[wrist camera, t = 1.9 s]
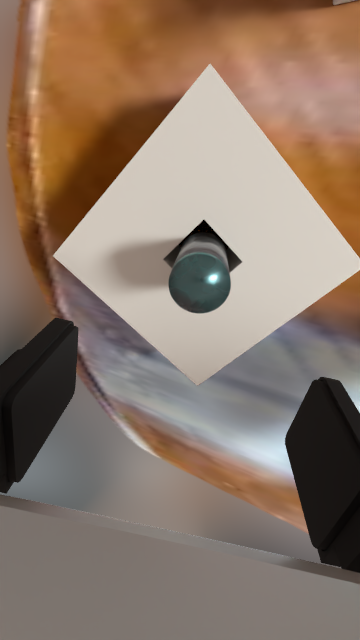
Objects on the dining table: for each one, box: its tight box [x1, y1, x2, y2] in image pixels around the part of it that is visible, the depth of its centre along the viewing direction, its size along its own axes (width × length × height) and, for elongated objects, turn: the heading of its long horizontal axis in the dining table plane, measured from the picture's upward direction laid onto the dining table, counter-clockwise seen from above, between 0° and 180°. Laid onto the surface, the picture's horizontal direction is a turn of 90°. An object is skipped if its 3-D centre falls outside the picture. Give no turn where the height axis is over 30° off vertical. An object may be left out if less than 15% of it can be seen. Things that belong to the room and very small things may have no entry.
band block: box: [53, 64, 360, 386], centre depth 29 cm, size 18×18×8 cm
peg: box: [168, 232, 231, 314], centre depth 23 cm, size 4×4×8 cm
